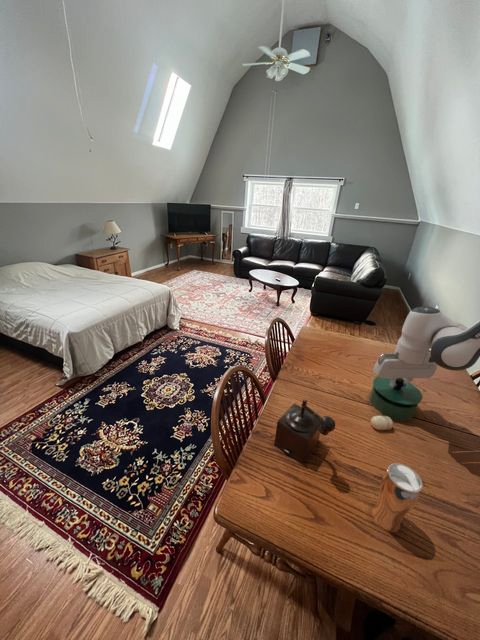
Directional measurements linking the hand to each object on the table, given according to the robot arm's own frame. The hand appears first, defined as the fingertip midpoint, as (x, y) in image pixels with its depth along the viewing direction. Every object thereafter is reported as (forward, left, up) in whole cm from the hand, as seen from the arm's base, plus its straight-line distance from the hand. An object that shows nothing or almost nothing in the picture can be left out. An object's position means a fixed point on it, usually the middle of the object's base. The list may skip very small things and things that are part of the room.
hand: (397, 386), depth 95 cm
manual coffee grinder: (+38, +17, -9) cm, 43 cm away
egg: (+10, +9, -9) cm, 16 cm away
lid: (0, 0, -2) cm, 2 cm away
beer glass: (+24, +37, -9) cm, 45 cm away
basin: (0, 0, -9) cm, 9 cm away
